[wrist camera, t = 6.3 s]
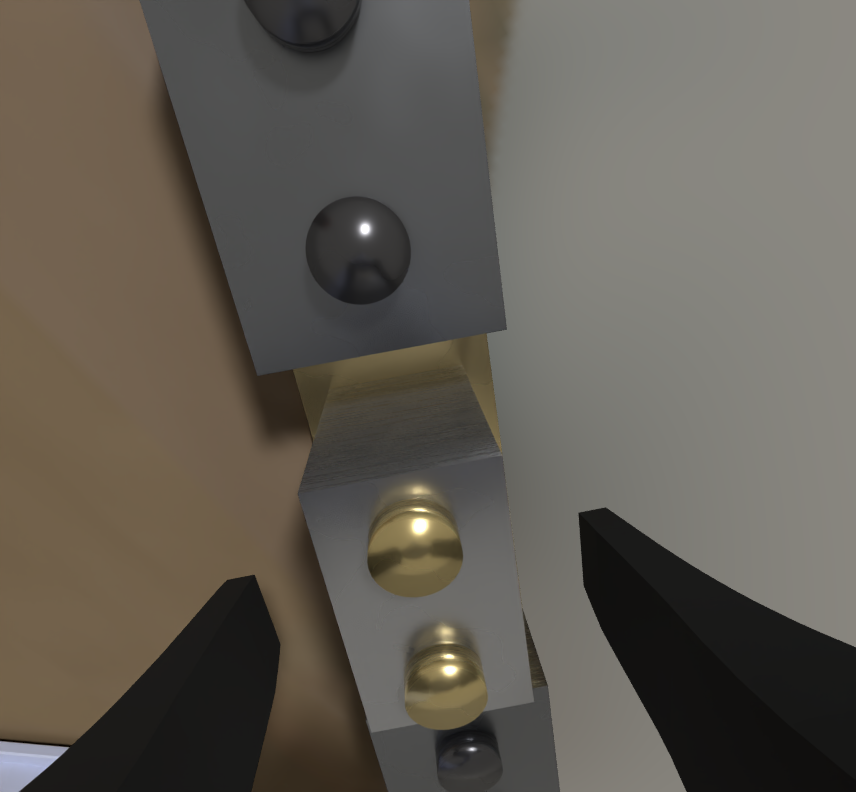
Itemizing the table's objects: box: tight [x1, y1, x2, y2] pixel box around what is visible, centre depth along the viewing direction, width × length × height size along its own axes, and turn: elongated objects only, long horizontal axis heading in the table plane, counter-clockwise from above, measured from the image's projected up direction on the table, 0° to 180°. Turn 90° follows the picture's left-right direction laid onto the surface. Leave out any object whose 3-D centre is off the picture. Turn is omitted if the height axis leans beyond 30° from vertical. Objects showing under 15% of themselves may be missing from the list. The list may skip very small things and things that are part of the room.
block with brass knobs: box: [298, 365, 534, 733], centre depth 12 cm, size 6×4×6 cm, turn 10°
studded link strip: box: [140, 0, 560, 792], centre depth 13 cm, size 26×5×4 cm, turn 10°
